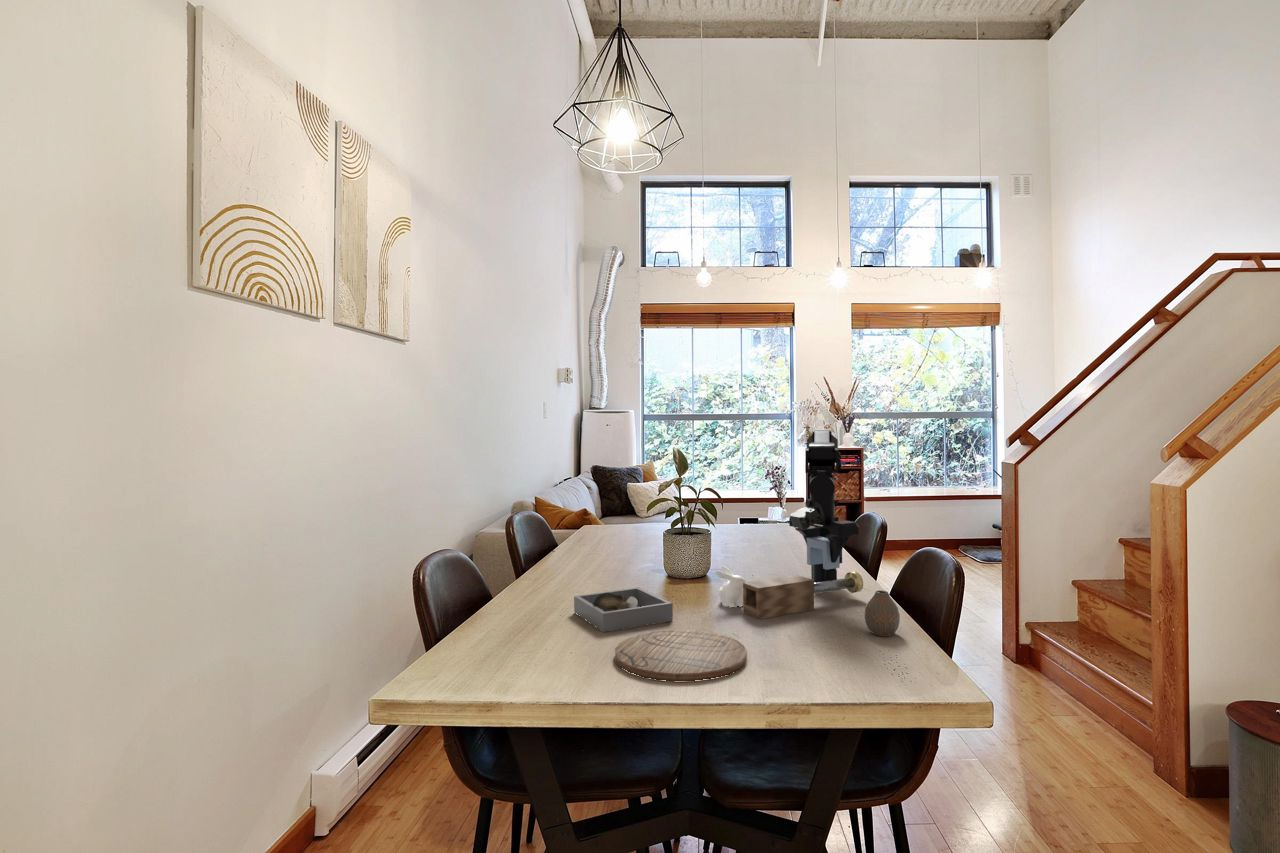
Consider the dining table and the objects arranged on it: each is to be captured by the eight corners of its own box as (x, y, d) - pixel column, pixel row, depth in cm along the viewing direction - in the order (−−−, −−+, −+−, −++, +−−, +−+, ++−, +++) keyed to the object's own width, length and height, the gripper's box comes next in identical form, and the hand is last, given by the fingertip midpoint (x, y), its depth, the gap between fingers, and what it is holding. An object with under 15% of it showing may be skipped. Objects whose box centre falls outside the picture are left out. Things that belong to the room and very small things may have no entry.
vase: (894, 628, 148) (894, 587, 148) (904, 639, 141) (903, 596, 141) (861, 628, 149) (861, 587, 149) (869, 638, 142) (868, 595, 142)
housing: (759, 619, 156) (758, 588, 156) (743, 612, 162) (743, 582, 162) (814, 609, 164) (814, 579, 164) (797, 603, 169) (797, 574, 169)
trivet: (730, 691, 116) (730, 680, 116) (593, 675, 125) (593, 664, 125) (758, 645, 140) (758, 636, 140) (641, 633, 148) (641, 625, 148)
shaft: (799, 604, 162) (799, 583, 162) (785, 600, 167) (785, 579, 167) (863, 594, 171) (863, 573, 171) (848, 589, 176) (848, 570, 176)
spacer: (819, 562, 173) (819, 536, 173) (839, 567, 167) (839, 540, 166) (807, 564, 171) (806, 537, 171) (826, 569, 165) (826, 542, 165)
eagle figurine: (610, 607, 164) (585, 609, 157) (626, 584, 162) (601, 584, 155) (630, 630, 159) (605, 633, 152) (646, 606, 158) (622, 608, 151)
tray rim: (574, 613, 164) (574, 596, 164) (638, 603, 171) (638, 587, 171) (603, 632, 148) (603, 613, 148) (672, 620, 156) (672, 603, 156)
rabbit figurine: (752, 611, 163) (751, 570, 163) (720, 613, 162) (719, 571, 162) (738, 598, 175) (737, 560, 175) (709, 600, 174) (708, 561, 174)
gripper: (771, 494, 173) (772, 556, 173) (823, 501, 157) (823, 570, 157) (806, 491, 178) (807, 552, 178) (860, 498, 162) (860, 565, 162)
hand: (823, 559), depth 169 cm, fingers closed on spacer, 7 cm apart
